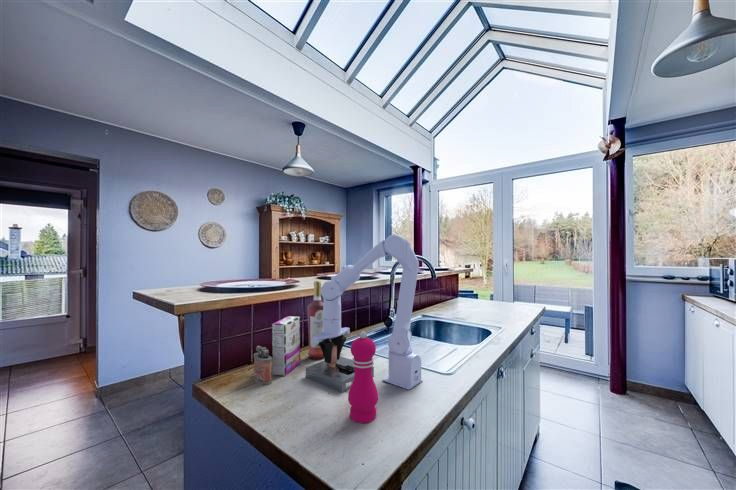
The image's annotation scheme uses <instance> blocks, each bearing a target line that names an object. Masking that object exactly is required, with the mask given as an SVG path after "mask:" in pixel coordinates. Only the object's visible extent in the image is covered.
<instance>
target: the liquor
mask: <svg viewBox="0 0 736 490" xmlns="http://www.w3.org/2000/svg"><path fill="white" fill-rule="evenodd" d="M321 287H322V281H321V280H314V281H313V298H312V299H313V300H312V302H311V303H309V304H308V305H307V328H308V329H307V330H308V352H307V355H308V357H310V358H311V359H313V360H320V359H324V356H323V353H322V350H321V348H320V346H319V344H315V343H313V336H316V335H318V334H319V333H321V332H322V330H323V301H322V295H321Z"/></svg>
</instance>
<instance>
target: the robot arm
mask: <svg viewBox="0 0 736 490" xmlns="http://www.w3.org/2000/svg"><path fill="white" fill-rule="evenodd" d="M389 256H391V257H392V258H393V259H395V260H396V261H397V262H398V263H399V264H400V265H401V267H402V273H401V280H400V286H399V293H398V298H397V299H398V300H397V307H396V313H395V318H394V319H395V320H394V323H393V328H392V331H391V334H390V336H389V337H388V339H387V345H388V375H386V376H385V377H384V378H382V381H383V382H386V383H387V384H388V383H389V384H392V385H395V386H398V387H401V388H402V389H406V390H411V389H412V388H414V387H415V386H417V385H418V384H420V383H421V382H423V378H422V360H421V356H420V355H419V354H416V353H415V352H414V351H413V348H412V346H411V345H410V343H411V341H412V338H413V337H412V336H413V335H412V331H411V323H412V322H411V319H412V315H413V307H414V300H415V299H414V298H415V294H416V287H417V282H418V281H417V280H418V273H419V266H420V262H419V259H418V258H417V256H416V253H415V251H414V249H413V247H412V245H411V243H410V242H409V241H408V240H407V239H406V238H405V237H403V236H401V235H399V234H391V235H388V236H387V237H386V239H385V240H384V239H383V240H381V241H379V242H378V243H377V244H376V245H375V246H373V248H371V249H370V250H369V251H368V252H367V253H365V254H364V255H363V256H362V257H361V258H360V259H359V260H358V261H357V262H355V264H353V265H352V264H348V265H343V266H342V267H341V270H340V271H339V272H338V273H337V274H336V275H332V276H331V277H330V280H328V281H324V282H323V284H321V289H320V291H321V297H322V298H323V301H322V302H323V330H322V332H321V333H319V334H318V335H316V336H313V343H315V344H319V346H320V348H321V350H322V353H323V356H324V357H323V361H324V360H325V362H326V363H331V356H332V348H333V345H337V360H339V358H340V356H341V355H342V353H341V352H342V350H343V346H344V345H345V343H346V341H347V337H346V336H344V335H349V334H350V333H351V330H350V329H351V328H350V327H346V326H345V327H342V295H343V294H344V292H345V291H347V290H348V289H349V288H350V287H351V286H353V285H354V284H355V283H356V282H358V281H359V280H360V279H361V273H362V272H363V271H365V270H366V269H367V268H368V267H370V266H371V265H372V264H374V263H375V262H377V261H378V260H379V259H381V258H385V257H389Z"/></svg>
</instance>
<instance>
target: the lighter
mask: <svg viewBox="0 0 736 490" xmlns="http://www.w3.org/2000/svg"><path fill="white" fill-rule="evenodd" d="M255 351H256V352H255V353H253V364H254V365H253V366H254V367H253V371H254V372H253V378H252V379H253V380H254V381H255V382H256V383H257V384H259V385H261V386H265V387H266V386H270V385H272V383H273V382H272V381H273V380H272V356H271V355H269V349H268V348H267V347H266V346H264V347H263V346H260V345H256V347H255Z"/></svg>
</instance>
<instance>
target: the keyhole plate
mask: <svg viewBox="0 0 736 490" xmlns="http://www.w3.org/2000/svg"><path fill="white" fill-rule="evenodd" d="M335 367H337V368H339V369H343V370H346V371H349V372H352V373H350V374H345V373H343V372H340V371H339V372H338V369H336V368H333V367H330V366H328V363H326V362H325V360H324V359H323V360H322V361H320V362H316V363H314V364H311V365H308V366H305V378H307V379H309V380H311V381H314V382H316V383H319V384H321V385H323V386H326V387H328V388H331V389H333V390H335V391H337V392H339V393H344V392H347V384H348V383H350V382H353V379H354V374H355V366H354V365H353V359H350V358H347V357H344V356H341V355H340V358H339V360H337V362H336V363H335ZM374 374H375V366H374V365H373V366H372V377H373V378H374V377H375V375H374Z"/></svg>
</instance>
